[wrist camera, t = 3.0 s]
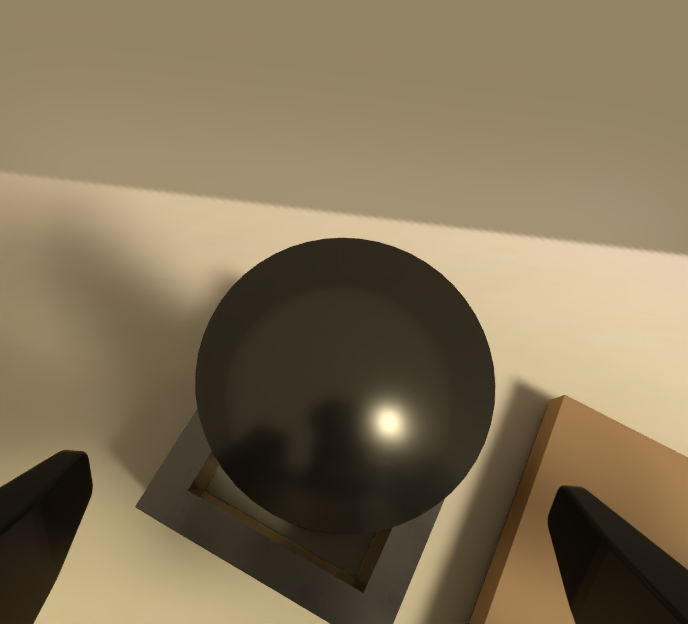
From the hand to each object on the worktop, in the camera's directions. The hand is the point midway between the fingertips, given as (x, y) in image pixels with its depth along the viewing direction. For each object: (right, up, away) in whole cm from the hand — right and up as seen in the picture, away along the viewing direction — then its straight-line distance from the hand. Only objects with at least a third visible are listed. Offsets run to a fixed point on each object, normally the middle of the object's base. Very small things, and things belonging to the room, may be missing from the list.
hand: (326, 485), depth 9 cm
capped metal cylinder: (0, -2, +8) cm, 9 cm away
